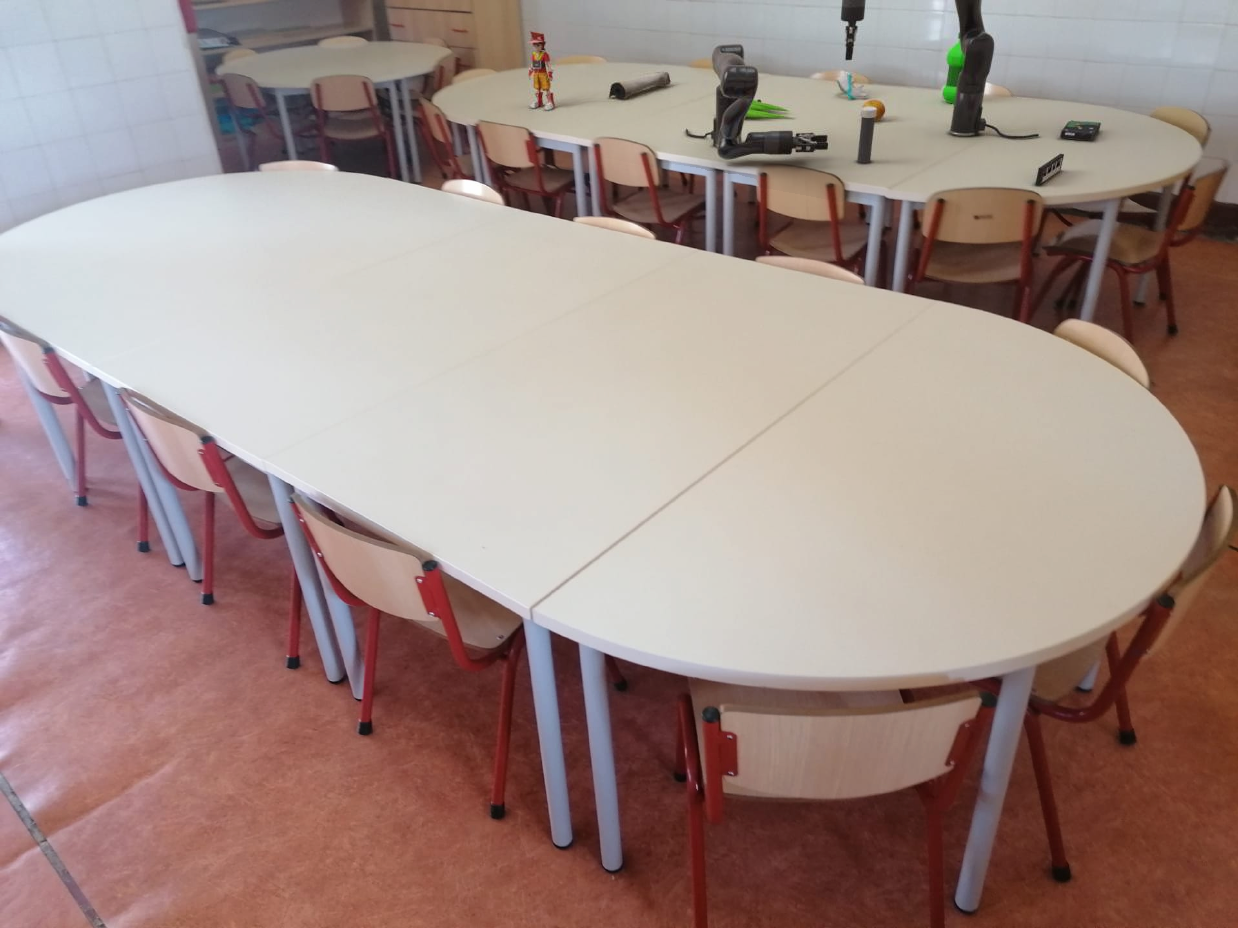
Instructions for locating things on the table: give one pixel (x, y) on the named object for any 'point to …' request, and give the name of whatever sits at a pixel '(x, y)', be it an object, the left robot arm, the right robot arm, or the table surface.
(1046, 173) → the midi keyboard
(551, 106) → the toy
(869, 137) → the dark cylinder
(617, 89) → the rolled mat
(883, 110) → the fruit
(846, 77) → the anatomical model
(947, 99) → the green dumbbell
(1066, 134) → the disk drive
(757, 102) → the toy
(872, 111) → the lid
